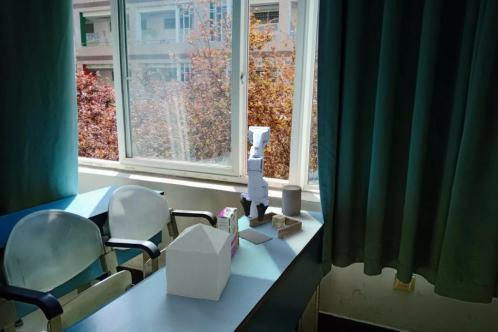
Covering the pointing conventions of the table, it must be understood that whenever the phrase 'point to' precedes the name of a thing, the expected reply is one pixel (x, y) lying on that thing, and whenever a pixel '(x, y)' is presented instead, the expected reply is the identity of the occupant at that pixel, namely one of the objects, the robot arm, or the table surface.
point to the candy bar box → (229, 225)
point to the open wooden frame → (291, 228)
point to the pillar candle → (291, 200)
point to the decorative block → (199, 262)
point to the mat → (253, 236)
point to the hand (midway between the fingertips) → (253, 218)
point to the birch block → (278, 221)
